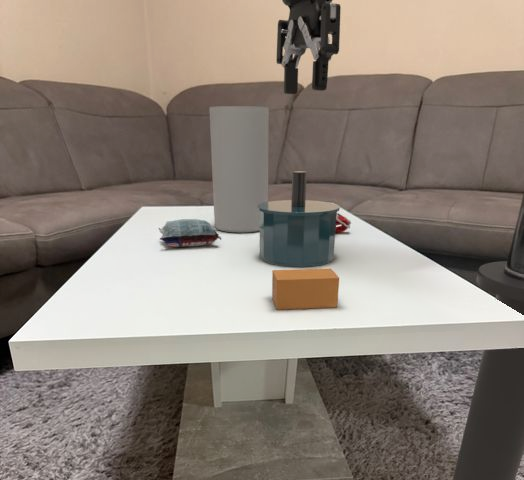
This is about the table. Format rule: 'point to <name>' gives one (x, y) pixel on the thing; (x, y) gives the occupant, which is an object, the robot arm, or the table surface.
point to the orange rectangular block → (305, 288)
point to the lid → (298, 201)
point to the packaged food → (188, 233)
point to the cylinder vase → (239, 165)
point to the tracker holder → (342, 223)
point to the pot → (297, 239)
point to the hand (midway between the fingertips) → (304, 92)
